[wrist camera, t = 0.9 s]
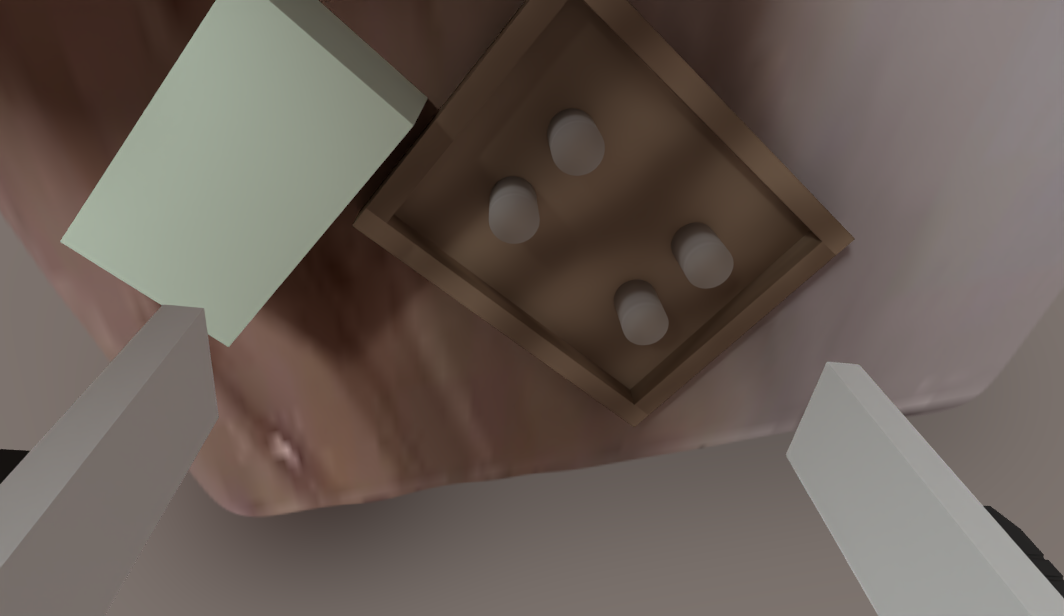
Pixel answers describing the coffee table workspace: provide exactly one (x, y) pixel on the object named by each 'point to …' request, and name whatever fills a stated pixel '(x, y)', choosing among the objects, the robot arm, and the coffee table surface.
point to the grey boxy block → (244, 158)
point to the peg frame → (601, 205)
